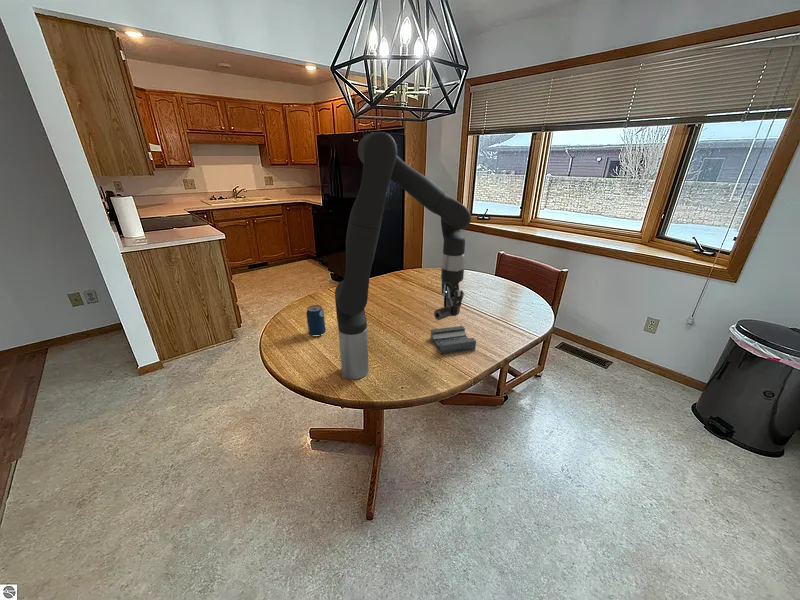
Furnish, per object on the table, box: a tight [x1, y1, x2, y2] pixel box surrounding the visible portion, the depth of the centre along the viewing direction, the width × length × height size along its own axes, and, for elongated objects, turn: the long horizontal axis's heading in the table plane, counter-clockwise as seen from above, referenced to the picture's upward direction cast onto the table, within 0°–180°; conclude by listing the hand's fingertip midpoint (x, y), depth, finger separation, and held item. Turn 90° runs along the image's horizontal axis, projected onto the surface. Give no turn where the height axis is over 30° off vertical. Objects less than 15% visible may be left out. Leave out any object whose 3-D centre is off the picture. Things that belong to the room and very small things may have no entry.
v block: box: [430, 325, 477, 355], centre depth 129 cm, size 14×12×4 cm
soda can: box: [305, 304, 327, 336], centre depth 134 cm, size 7×7×12 cm
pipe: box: [433, 292, 465, 321], centre depth 114 cm, size 6×13×8 cm, turn 132°
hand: (450, 310), depth 116 cm, fingers closed on pipe, 6 cm apart
